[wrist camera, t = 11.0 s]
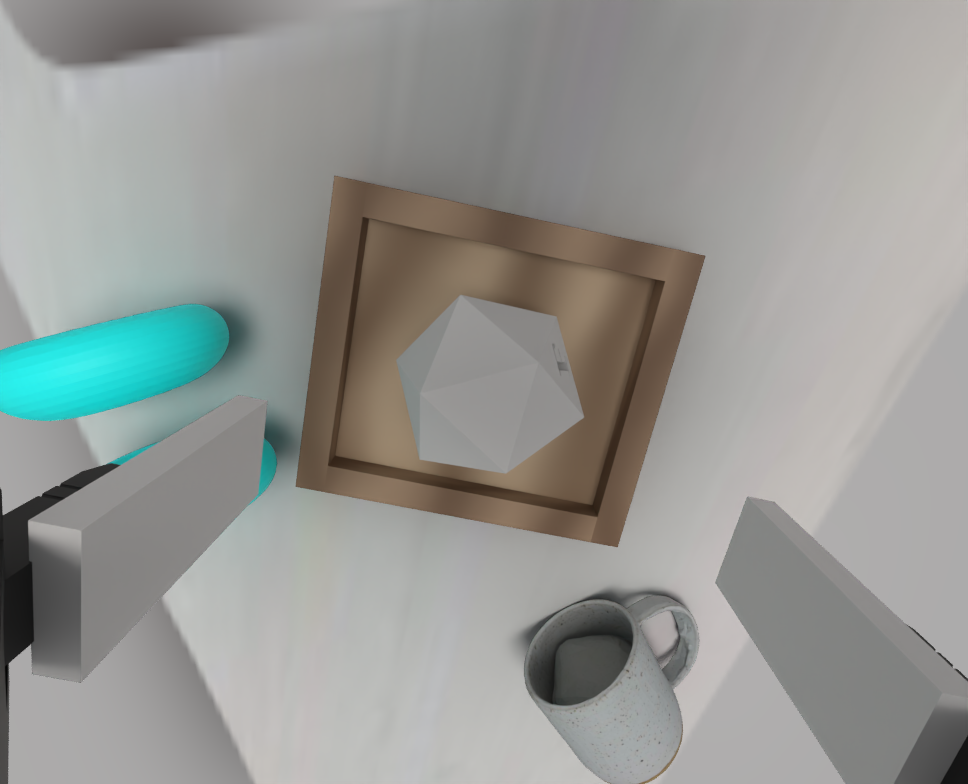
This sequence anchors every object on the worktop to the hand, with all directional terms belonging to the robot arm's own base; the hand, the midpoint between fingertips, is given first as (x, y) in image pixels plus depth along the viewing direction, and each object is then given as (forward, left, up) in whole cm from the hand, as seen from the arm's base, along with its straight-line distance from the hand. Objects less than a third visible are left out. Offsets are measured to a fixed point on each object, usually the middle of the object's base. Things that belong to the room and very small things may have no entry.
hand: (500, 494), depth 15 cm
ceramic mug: (-11, +16, -17) cm, 26 cm away
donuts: (+16, +5, -17) cm, 24 cm away
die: (0, 0, -16) cm, 16 cm away
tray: (0, 0, -17) cm, 17 cm away
